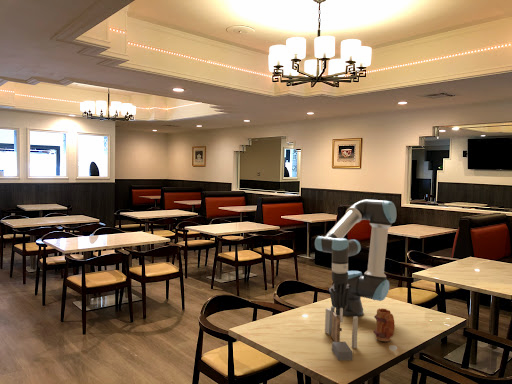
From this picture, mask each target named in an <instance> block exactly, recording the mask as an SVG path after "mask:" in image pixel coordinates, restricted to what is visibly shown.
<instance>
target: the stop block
mask: <svg viewBox="0 0 512 384" xmlns="http://www.w3.org/2000/svg"><path fill="white" fill-rule="evenodd" d="M331 351H332V353H333V354H334V357H336V359H337V360H338V361H353V351H352V349H351V348H350V346H349V345H348V344H347V342H346V341H340V342H334V341H332V343H331Z"/></svg>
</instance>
